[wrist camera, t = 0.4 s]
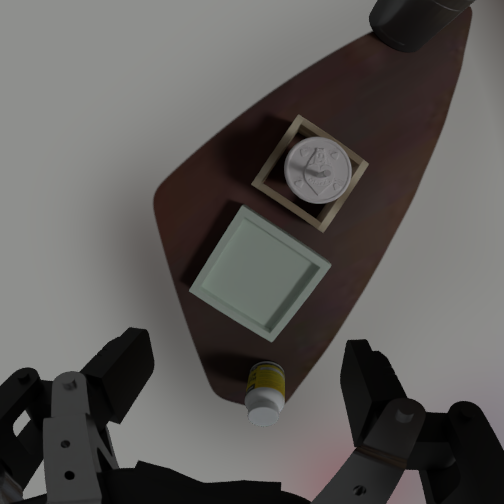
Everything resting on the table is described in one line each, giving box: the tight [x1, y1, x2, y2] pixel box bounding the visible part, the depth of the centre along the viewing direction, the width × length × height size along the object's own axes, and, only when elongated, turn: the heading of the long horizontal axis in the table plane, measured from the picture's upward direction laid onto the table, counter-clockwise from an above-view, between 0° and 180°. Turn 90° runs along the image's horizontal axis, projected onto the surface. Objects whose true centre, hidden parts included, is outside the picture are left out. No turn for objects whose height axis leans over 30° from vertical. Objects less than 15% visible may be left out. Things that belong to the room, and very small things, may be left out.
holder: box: [251, 115, 369, 233], centre depth 32 cm, size 10×10×4 cm
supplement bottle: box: [245, 361, 285, 427], centre depth 36 cm, size 5×5×10 cm
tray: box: [189, 204, 331, 342], centre depth 36 cm, size 13×13×2 cm
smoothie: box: [284, 137, 352, 204], centre depth 27 cm, size 6×6×14 cm
